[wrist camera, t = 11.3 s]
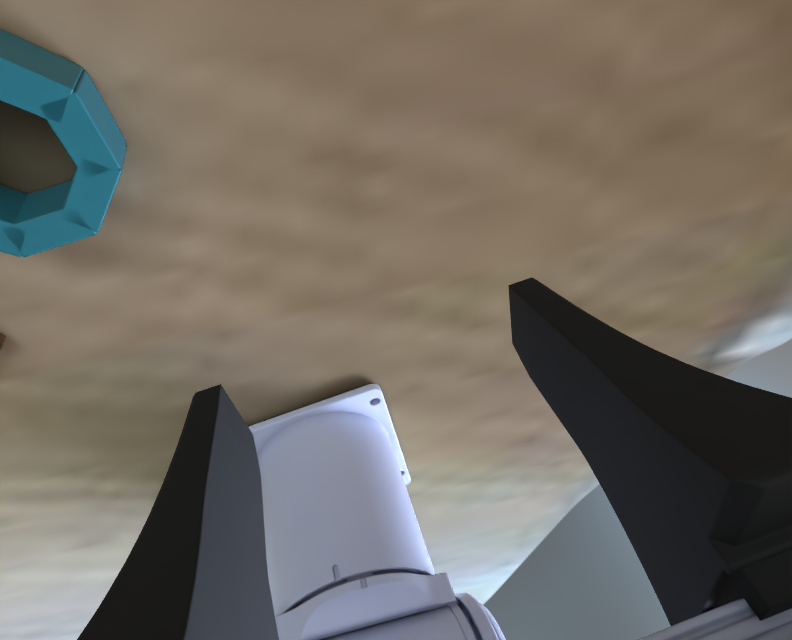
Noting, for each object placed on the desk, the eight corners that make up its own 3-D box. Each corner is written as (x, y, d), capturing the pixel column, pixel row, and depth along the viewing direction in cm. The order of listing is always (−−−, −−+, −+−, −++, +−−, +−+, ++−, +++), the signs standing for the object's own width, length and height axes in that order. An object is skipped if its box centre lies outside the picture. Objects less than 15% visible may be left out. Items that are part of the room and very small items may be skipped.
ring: (153, 188, 19) (150, 217, 17) (-15, 241, 18) (-33, 275, 17) (49, 4, 15) (35, 22, 14) (-167, 66, 15) (-205, 91, 13)
